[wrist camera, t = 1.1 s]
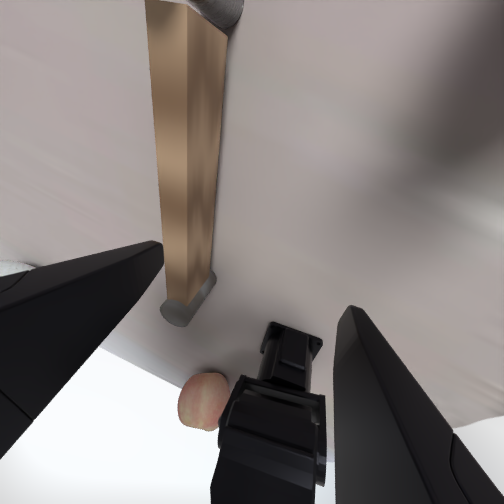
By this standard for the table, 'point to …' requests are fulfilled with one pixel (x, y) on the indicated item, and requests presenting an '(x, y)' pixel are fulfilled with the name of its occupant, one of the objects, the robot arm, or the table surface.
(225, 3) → the post
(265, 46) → the table surface
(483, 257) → the table surface
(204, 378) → the apple
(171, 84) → the brown long flat bar
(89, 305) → the robot arm
